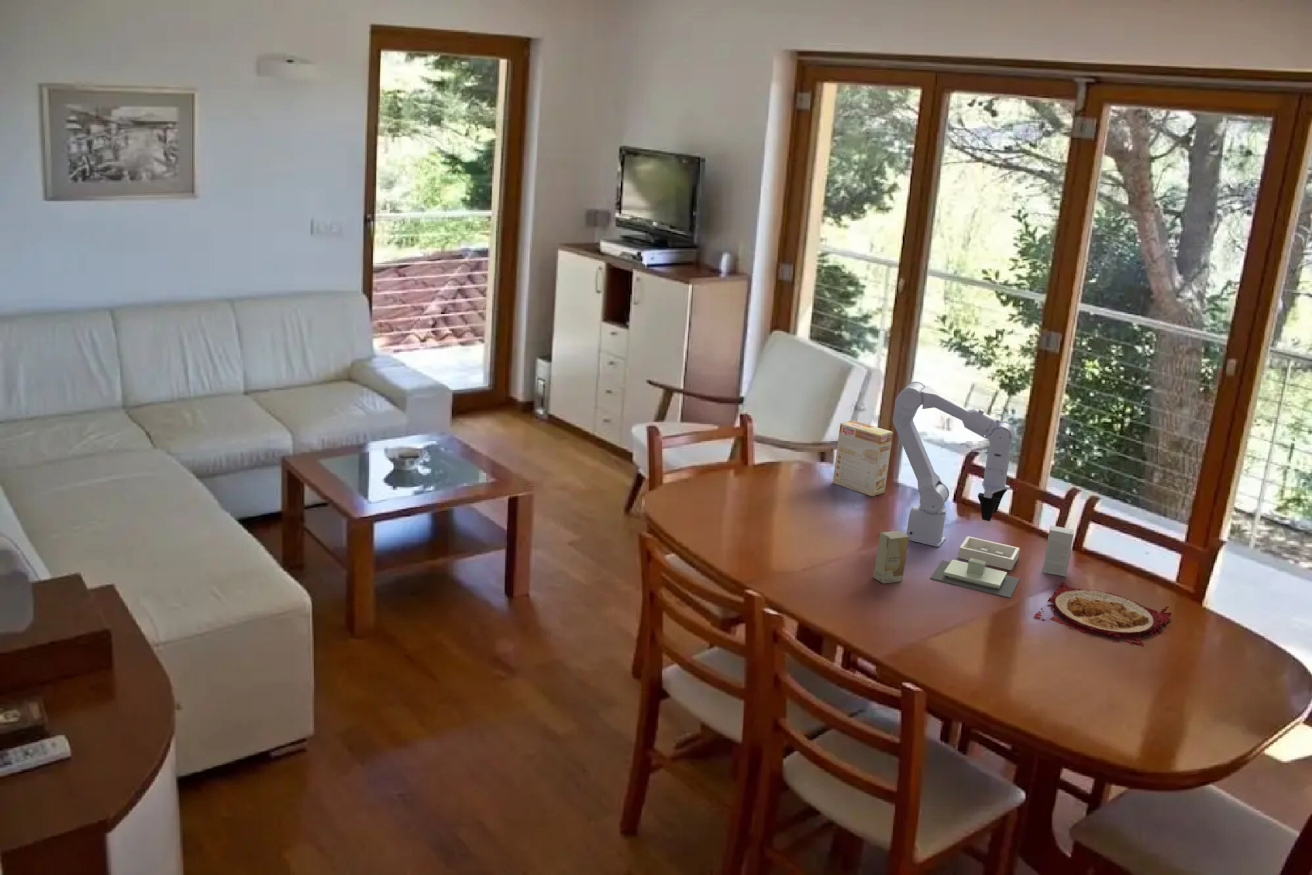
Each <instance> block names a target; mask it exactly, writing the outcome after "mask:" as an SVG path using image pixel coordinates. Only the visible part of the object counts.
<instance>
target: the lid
mask: <svg viewBox="0 0 1312 875" xmlns="http://www.w3.org/2000/svg"><path fill="white" fill-rule="evenodd" d="M967 561H968V562H966V561H961V560H957V559H952V560H951V561H949V562H950V564H949V565H948V567H947V568H946V570H945V571H944V574H943V575H946V576H948V577H949V578H953V579H957V580H961V581H965V582H969V583H974V584H978V585H982V586H986V587H990V588H994V589H995V588H1000V586H1001V584H1002V582H1003V581H1004V579H1005V577H1006V575H1007V574H1008V571H1004V570H999V569H995V568H992V567H991V568H990V567H986V566H987V565H986V561H982V560H978V559H974V558H970V560H967Z"/></svg>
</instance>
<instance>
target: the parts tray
mask: <svg viewBox="0 0 1312 875" xmlns="http://www.w3.org/2000/svg"><path fill="white" fill-rule="evenodd" d="M1020 550H1021V548H1020V547H1018V546H1017V547H1016V546H1013V545H1009V544H1006V543H1005V544H1003V543H1000V542H996V541H991V540H986V539H981V538H979V537H978V538H977V537H974V536H973V537H972V536H969V535H968V536H966V537H965V539H964V540H963V542H962V543H961V545H960V546H959V550H958V555H957V558H958V559H961V560H965V561H969V560H970V558H974V559H978V560H982V561H986V566H990V567H991V566H992V567H995V568H999V569H1004V570H1009V571H1012V570H1013V568H1014V567H1015V565H1016V563H1017V561H1018V558H1019V555H1020Z"/></svg>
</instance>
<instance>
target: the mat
mask: <svg viewBox="0 0 1312 875" xmlns="http://www.w3.org/2000/svg"><path fill="white" fill-rule="evenodd" d="M950 562H951V561H948V560H943V559H942V561H941V562H940V564H938V566H937V567H936V569H934V571H933V573H932V574H931V575H930V577H929V579H930V580H934V581H936V582H937V581H938V582H941V583H942V582H943V583H946V584H950V585H954V586H959V587H962V588H967V589H970V590H975V591H979V592H982V593H987V594H991V595H994V596H998V597H1003V598H1007V599H1011V598H1012V596H1013V594H1014V591H1015V590H1016V588H1017V586H1018V584H1019V583H1020V579H1021V578H1020V577H1015V576H1011V575H1006V577H1005V579H1004V581H1003V582H1002V584H1001V586H1000V588H995V589H994V588H990V587H986V586H982V585H978V584H974V583H969V582H965V581H961V580H957V579H953V578H949V577H948V576H946V575H943V574H944V571H945V570H946V568H947V567H948V565H949V564H950Z"/></svg>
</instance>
